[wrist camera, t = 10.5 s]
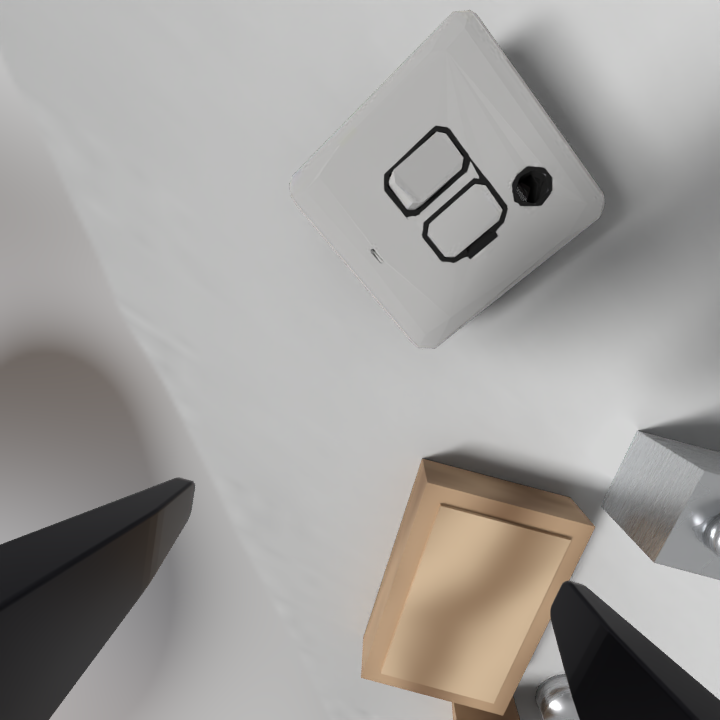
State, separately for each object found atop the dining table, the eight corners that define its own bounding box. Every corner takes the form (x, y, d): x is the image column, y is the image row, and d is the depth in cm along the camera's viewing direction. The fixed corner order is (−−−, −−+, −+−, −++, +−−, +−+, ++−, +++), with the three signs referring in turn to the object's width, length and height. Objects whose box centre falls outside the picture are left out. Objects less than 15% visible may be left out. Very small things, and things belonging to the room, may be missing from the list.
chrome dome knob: (604, 679, 24) (618, 705, 22) (581, 720, 25) (593, 748, 23) (546, 664, 24) (557, 689, 22) (526, 706, 25) (535, 732, 23)
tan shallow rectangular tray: (570, 497, 21) (597, 529, 18) (491, 671, 24) (504, 719, 21) (422, 458, 21) (427, 484, 18) (363, 637, 24) (360, 681, 21)
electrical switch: (621, 203, 14) (437, 361, 14) (542, 236, 19) (409, 351, 19) (472, -11, 12) (273, 163, 13) (431, 87, 18) (291, 210, 18)
